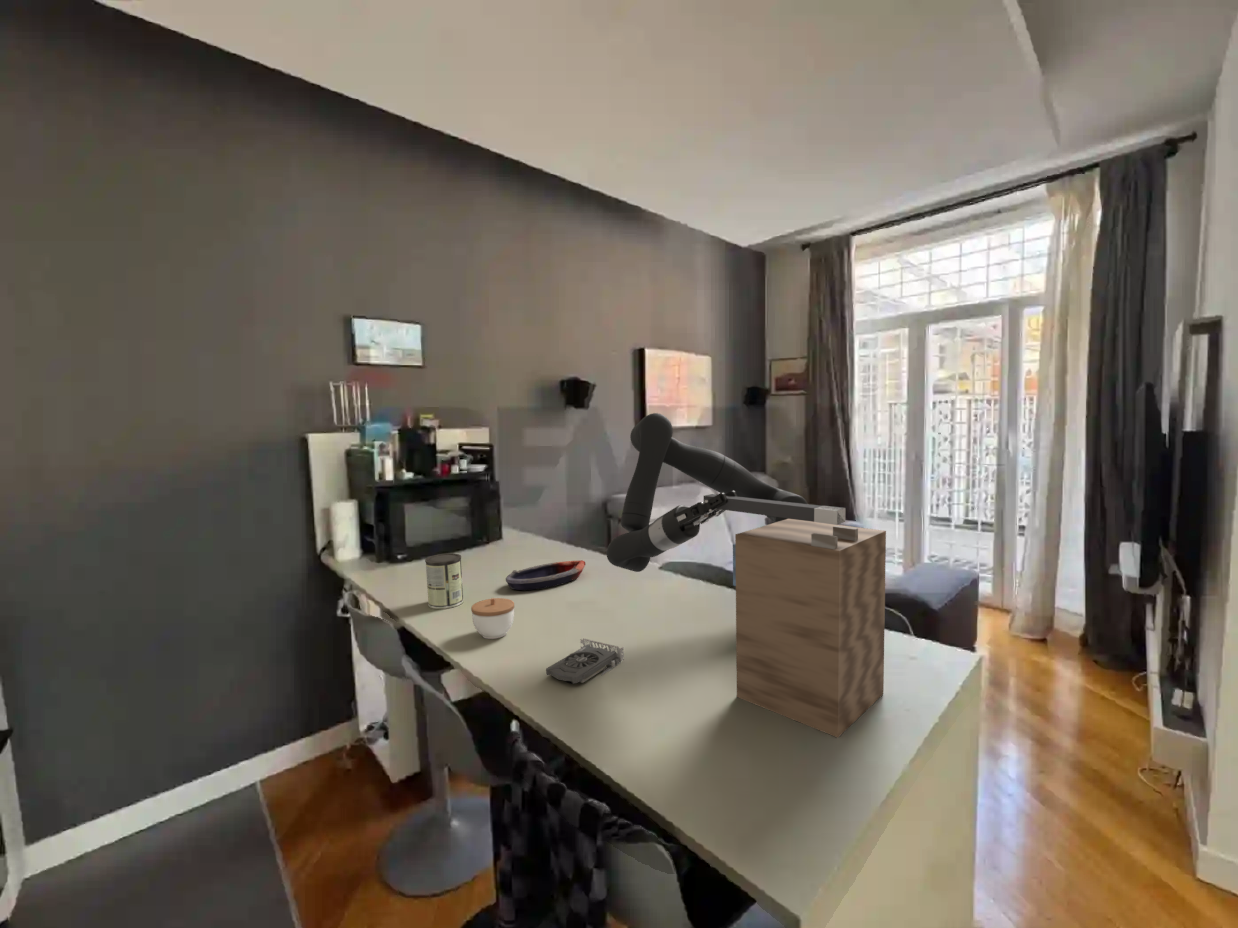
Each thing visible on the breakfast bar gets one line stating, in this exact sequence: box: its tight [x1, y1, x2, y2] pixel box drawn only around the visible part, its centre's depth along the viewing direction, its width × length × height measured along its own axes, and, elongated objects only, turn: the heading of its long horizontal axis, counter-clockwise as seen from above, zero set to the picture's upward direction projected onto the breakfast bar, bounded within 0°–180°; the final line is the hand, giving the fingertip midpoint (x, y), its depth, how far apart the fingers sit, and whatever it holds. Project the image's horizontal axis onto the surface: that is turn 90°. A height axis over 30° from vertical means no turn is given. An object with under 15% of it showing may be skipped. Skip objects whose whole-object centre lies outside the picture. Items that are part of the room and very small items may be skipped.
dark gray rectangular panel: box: [703, 493, 846, 525], centre depth 105 cm, size 3×28×2 cm, turn 44°
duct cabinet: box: [732, 519, 887, 739], centre depth 106 cm, size 20×21×34 cm
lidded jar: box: [470, 597, 515, 640], centre depth 142 cm, size 11×11×9 cm
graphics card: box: [545, 638, 625, 685], centre depth 122 cm, size 17×4×12 cm
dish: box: [505, 559, 586, 591], centre depth 186 cm, size 16×31×5 cm, turn 128°
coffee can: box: [424, 552, 464, 610], centre depth 166 cm, size 10×10×14 cm
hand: (730, 496), depth 111 cm, fingers closed on dark gray rectangular panel, 3 cm apart
